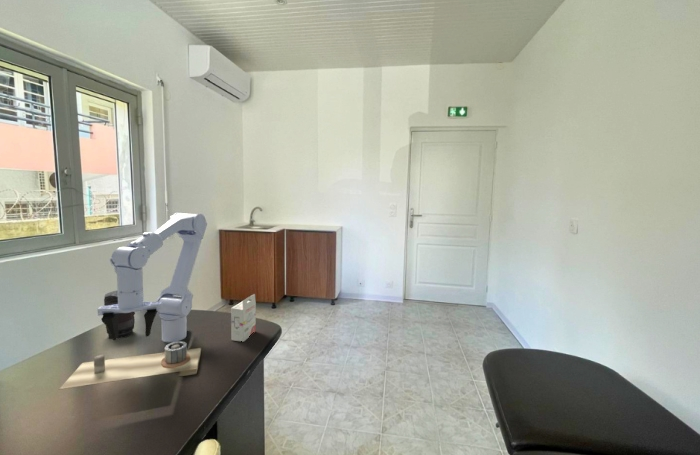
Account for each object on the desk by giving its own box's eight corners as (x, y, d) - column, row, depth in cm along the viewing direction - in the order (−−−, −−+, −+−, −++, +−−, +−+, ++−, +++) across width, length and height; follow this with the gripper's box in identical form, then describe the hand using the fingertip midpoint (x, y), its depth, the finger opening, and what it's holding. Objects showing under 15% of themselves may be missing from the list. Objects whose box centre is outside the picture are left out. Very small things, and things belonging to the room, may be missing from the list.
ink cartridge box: (243, 329, 112) (244, 291, 110) (255, 331, 111) (256, 293, 109) (230, 340, 104) (230, 299, 102) (243, 342, 103) (243, 301, 101)
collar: (162, 359, 87) (161, 346, 86) (181, 352, 91) (181, 339, 91) (169, 366, 83) (169, 352, 83) (189, 358, 88) (189, 345, 87)
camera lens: (118, 328, 108) (116, 288, 106) (140, 329, 108) (139, 289, 106) (99, 339, 100) (97, 296, 98) (123, 340, 100) (122, 297, 98)
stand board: (82, 367, 84) (81, 347, 84) (200, 352, 95) (200, 334, 95) (59, 394, 73) (58, 372, 73) (196, 373, 84) (196, 353, 83)
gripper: (91, 296, 77) (94, 347, 78) (157, 292, 82) (158, 339, 83) (102, 288, 83) (104, 334, 85) (163, 284, 88) (164, 328, 90)
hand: (132, 336), depth 84 cm, fingers open, 7 cm apart
